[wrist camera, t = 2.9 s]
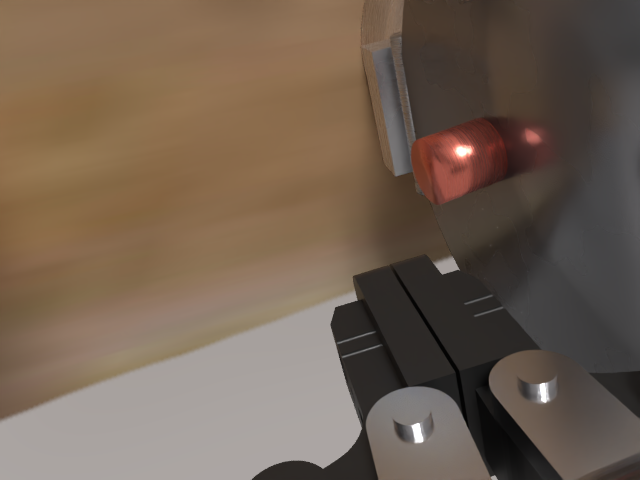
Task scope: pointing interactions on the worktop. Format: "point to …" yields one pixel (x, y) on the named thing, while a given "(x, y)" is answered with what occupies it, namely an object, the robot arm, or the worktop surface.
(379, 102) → the cooker pot
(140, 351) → the worktop surface
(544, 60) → the lid
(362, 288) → the robot arm
